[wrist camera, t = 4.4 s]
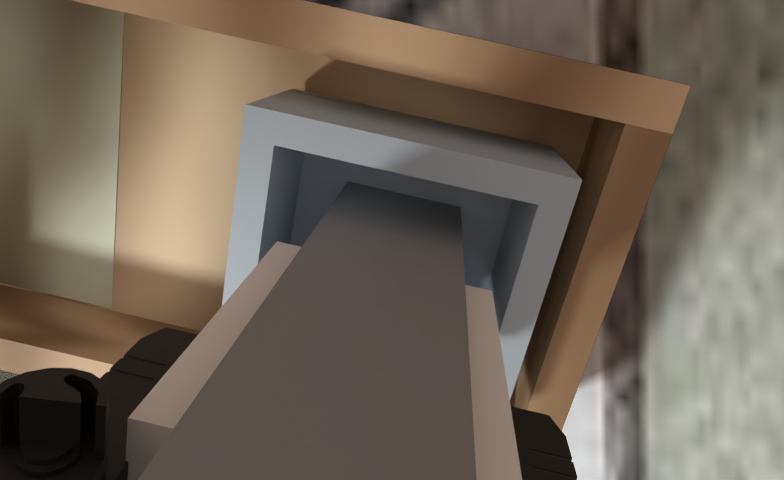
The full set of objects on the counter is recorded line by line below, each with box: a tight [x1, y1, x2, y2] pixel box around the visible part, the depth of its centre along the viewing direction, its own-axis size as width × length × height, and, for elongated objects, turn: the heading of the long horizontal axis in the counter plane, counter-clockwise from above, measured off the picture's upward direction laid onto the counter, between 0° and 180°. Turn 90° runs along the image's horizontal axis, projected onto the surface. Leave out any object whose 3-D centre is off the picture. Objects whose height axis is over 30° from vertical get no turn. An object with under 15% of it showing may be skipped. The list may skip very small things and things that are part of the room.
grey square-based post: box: [138, 88, 582, 480], centre depth 12 cm, size 8×8×15 cm
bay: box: [0, 0, 691, 431], centre depth 19 cm, size 22×13×4 cm, turn 78°
